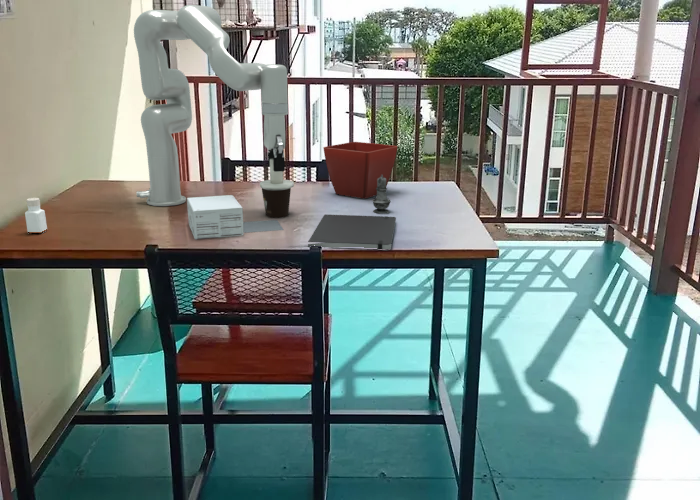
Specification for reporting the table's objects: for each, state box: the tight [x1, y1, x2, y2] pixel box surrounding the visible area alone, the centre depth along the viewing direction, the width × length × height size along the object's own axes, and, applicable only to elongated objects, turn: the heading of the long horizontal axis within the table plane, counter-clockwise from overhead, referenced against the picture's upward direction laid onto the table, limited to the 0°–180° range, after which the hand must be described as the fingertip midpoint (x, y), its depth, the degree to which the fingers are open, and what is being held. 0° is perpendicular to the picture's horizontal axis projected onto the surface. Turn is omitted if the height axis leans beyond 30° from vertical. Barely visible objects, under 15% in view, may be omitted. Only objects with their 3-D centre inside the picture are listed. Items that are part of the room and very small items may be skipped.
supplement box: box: [186, 194, 245, 240], centre depth 177 cm, size 17×13×9 cm
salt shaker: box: [24, 197, 48, 233], centre depth 178 cm, size 4×4×10 cm
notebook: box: [307, 214, 397, 250], centre depth 180 cm, size 22×2×28 cm
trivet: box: [243, 219, 285, 234], centre depth 182 cm, size 11×11×2 cm
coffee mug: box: [261, 188, 292, 219], centre depth 194 cm, size 12×9×10 cm
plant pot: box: [322, 141, 398, 199], centre depth 225 cm, size 19×19×17 cm
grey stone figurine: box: [371, 175, 391, 215], centre depth 202 cm, size 6×6×12 cm
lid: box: [259, 158, 295, 190], centre depth 191 cm, size 10×10×8 cm
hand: (276, 168), depth 190 cm, fingers open, 9 cm apart
